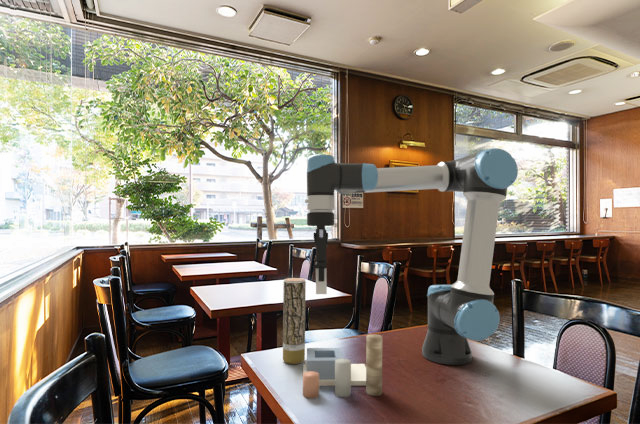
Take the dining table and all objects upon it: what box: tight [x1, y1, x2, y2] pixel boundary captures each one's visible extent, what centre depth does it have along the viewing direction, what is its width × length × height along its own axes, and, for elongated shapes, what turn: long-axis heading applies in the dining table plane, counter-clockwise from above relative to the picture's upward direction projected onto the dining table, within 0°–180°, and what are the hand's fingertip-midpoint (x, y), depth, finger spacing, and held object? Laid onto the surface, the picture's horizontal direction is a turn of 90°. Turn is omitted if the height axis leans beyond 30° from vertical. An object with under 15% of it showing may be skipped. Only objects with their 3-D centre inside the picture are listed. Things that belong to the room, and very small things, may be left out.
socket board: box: [302, 347, 366, 387], centre depth 105 cm, size 18×12×6 cm, turn 92°
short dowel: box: [302, 371, 320, 399], centre depth 94 cm, size 4×4×5 cm
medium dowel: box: [334, 357, 352, 398], centre depth 95 cm, size 4×4×8 cm
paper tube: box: [282, 277, 307, 365], centre depth 117 cm, size 7×7×25 cm
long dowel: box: [365, 333, 383, 397], centre depth 96 cm, size 4×4×14 cm
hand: (320, 289), depth 103 cm, fingers open, 13 cm apart
